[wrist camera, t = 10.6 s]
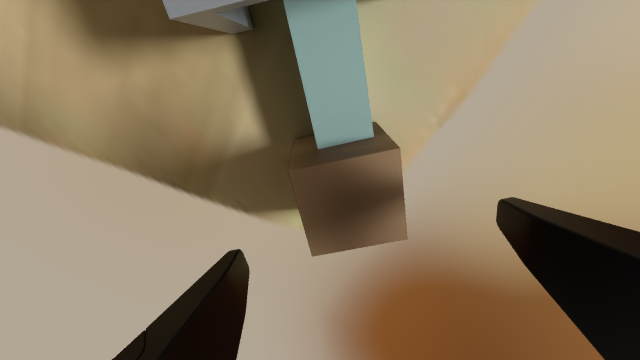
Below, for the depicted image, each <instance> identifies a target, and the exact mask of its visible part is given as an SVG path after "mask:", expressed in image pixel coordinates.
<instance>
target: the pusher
mask: <svg viewBox="0 0 640 360" xmlns="http://www.w3.org/2000/svg"><path fill="white" fill-rule="evenodd" d="M283 2H284V6H285V10H286V15H287V19H288V23H289V28H290V32H291V36H292V40H293V45H294V49H295V53H296V58H297V62H298V66H299V70H300V75H301V79H302V83H303V88H304V92H305V96H306V100H307V105H308V109H309V113H310V118H311V122H312V126H313V130H314V135H315V139H316V143H317V148H318V149H322V148H327V147H331V146H336V145H341V144H345V143H350V142H354V141H359V140H363V139H368V138H373V137H374V133H373V125H372V118H371V110H370V103H369V95H368V88H367V80H366V73H365V65H364V58H363V50H362V43H361V35H360V28H359V20H358V13H357V5H356V0H283Z"/></svg>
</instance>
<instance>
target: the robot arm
mask: <svg viewBox="0 0 640 360" xmlns="http://www.w3.org/2000/svg"><path fill="white" fill-rule="evenodd" d="M496 222H497V225H498V227H499V229H500V230H501V231H502V233H503V234H504V236H505V237H506V239H507V240H508V241H509V243H510V245H511V246H512V248H513V249H514V250H515V252H516V253H517V255H518V256H519V258H520V259H521V260H522V262H523V263H524V265H525V266H526V267H527V268H528V270H529V271H530V272H531V273H532V274H533V276H534V277H535V278H536V279H537V280H538V281H539V283H541V285H542V286H543V287H544V289H545V290H546V291H547V292H548V293H549V294H550V296H551V297H552V298H553V299H554V300H555V302H556V303H557V304H558V305H559V306H560V307H561V309H562V310H563V311H564V312H565V313H566V314H567V316H568V317H569V318H570V319H571V320H572V322H573V323H574V324H575V325H576V326H577V327H578V329H579V330H580V331H581V332H582V333H583V335H584V336H585V337H586V338H587V339H588V341H589V342H590V343H591V344H592V345H593V346H594V348H596V350H597V351H598V352H599V353H600V355H601V356H602V357H603V358H604V359H605V360H640V232H638V231H634V230H631V229H627V228H623V227H620V226H616V225H612V224H609V223H605V222H601V221H598V220H594V219H591V218H587V217H583V216H580V215H576V214H572V213H569V212H565V211H561V210H558V209H554V208H550V207H547V206H543V205H540V204H536V203H532V202H529V201H525V200H521V199H518V198H514V197H510V198H505V199H501V200H499V202H498V206H497V217H496ZM248 281H249V266H248V264H247V261H246V259H245V257H244V254H243V252H242V251H241V250H240V249H237V250H232V251H229V252H227V253H226V254H225V255H224V256H223V257H222V258H221V259H220V260H219V261H218V262H217V263H216V264H214V265H213V266H212V267H211V268H210V269H209V270H208V271H207V272H206V273H205V274H204V275H203V276H202V277H201V278H199V279H198V280H197V281H196V282H195V283H194V284H193V285H192V286H191V287H190V288H189V289H188V290H187V291H186V292H185V293H183V294H182V295H181V296H180V297H179V298H178V299H177V300H176V301H175V302H174V303H173V304H172V305H171V306H170V307H169V308H167V309H166V310H165V311H164V312H163V313H162V314H161V315H160V316H159V317H158V318H157V319H156V320H155V321H154V322H152V323H151V324H150V325H149V326H148V327H147V328H146V331H143V332H142V333H141V334H140V335H139V336H138V337H136V338H135V339H134V340H133V341H132V342H131V343H130V344H129V345H128V346H127V347H126V348H124V349H123V350H122V351H121V352H120V353H119V354H118V355H117V356H116V357H115V358H114V359H112V360H236V358H237V353H238V348H239V343H240V339H241V334H242V329H243V324H244V318H245V313H246V304H247V293H248Z"/></svg>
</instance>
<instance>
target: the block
mask: <svg viewBox="0 0 640 360" xmlns="http://www.w3.org/2000/svg"><path fill="white" fill-rule="evenodd" d="M372 125H373V133H374V137H373V138H368V139H363V140H359V141H354V142H350V143H345V144H341V145H336V146H331V147H327V148H322V149H318V148H317V143H316V139H315V135H310V136H305V137H301V138H296V139H294V142H293V147H292V152H291V157H290V162H289V167H288V174H289V177H290V181H291V184H292V188H293V191H294V195H295V198H296V202H297V205H298V209H299V212H300V216H301V219H302V223H303V226H304V230H305V233H306V237H307V240H308V244H309V247H310V251H311V254H312V256H318V255H323V254H328V253H334V252H339V251H345V250H351V249H356V248H362V247H367V246H373V245H378V244H384V243H389V242H395V241H400V240H405V239H407V228H406V217H405V216H406V215H405V203H404V191H403V178H402V165H401V153H400V147H399V146H398V145H397V144H396V143H395V142H394V141H393V140H392V139H391V138H390V137H389V136H388V135H387V134H386V132H385V131H384V130H383V129H382V128H381V127H380V126H379V125H378V124H377V123H376V122H372Z"/></svg>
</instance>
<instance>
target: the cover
mask: <svg viewBox="0 0 640 360" xmlns="http://www.w3.org/2000/svg"><path fill="white" fill-rule="evenodd" d="M162 1H163V3H164V6H165V9H166V11H167V14H168V16H169V19H171V20H176V21H180V22H184V23H188V24H192V25H197V26H201V27H205V28H209V29H213V30H218V31H222V32H226V33H230V34H235V33H239V32H243V31H248V30H252V29H253V25H252V22H251V18H250V15H249V11H248V7H247V6H248V5H252V4H256V3H260V2H264V1H268V0H162Z"/></svg>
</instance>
